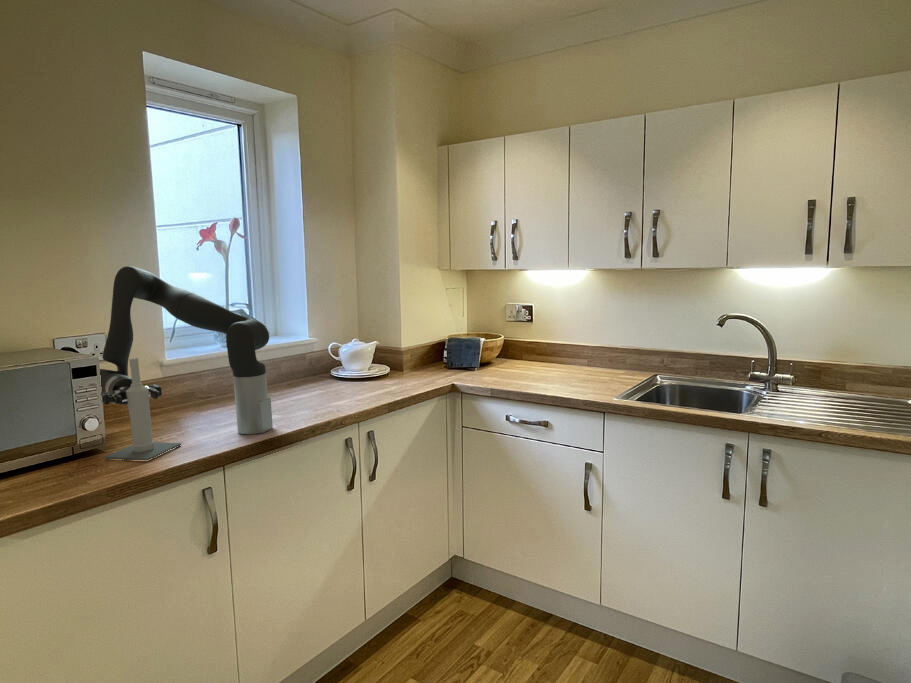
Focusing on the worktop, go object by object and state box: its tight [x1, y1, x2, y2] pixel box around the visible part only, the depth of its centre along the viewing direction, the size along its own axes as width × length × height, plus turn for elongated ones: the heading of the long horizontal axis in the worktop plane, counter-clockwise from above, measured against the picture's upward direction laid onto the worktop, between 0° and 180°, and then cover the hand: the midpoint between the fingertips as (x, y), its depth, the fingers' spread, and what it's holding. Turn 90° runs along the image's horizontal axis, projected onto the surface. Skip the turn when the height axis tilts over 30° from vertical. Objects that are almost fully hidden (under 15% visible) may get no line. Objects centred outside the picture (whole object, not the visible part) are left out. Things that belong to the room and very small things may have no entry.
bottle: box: [126, 357, 155, 452], centre depth 155 cm, size 5×5×25 cm
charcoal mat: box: [104, 441, 182, 460], centre depth 156 cm, size 13×13×1 cm
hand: (138, 397), depth 154 cm, fingers open, 8 cm apart
